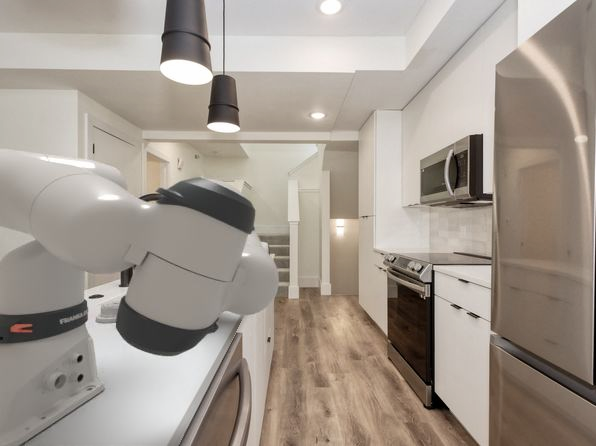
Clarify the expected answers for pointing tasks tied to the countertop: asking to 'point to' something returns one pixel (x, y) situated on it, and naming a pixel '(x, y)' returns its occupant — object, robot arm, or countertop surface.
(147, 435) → the countertop surface
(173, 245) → the robot arm
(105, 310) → the mechanical component
